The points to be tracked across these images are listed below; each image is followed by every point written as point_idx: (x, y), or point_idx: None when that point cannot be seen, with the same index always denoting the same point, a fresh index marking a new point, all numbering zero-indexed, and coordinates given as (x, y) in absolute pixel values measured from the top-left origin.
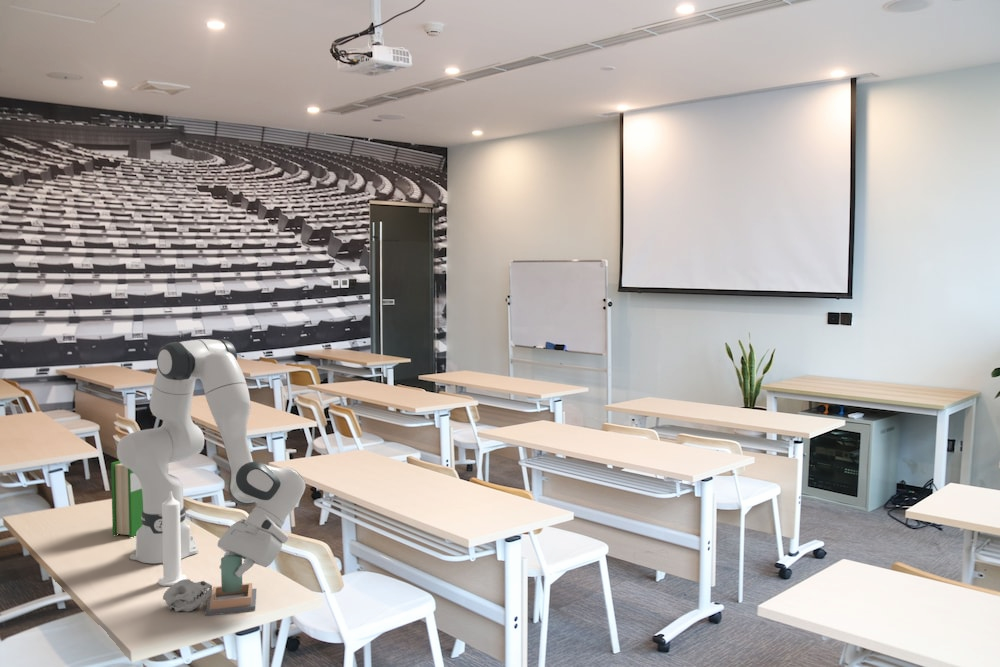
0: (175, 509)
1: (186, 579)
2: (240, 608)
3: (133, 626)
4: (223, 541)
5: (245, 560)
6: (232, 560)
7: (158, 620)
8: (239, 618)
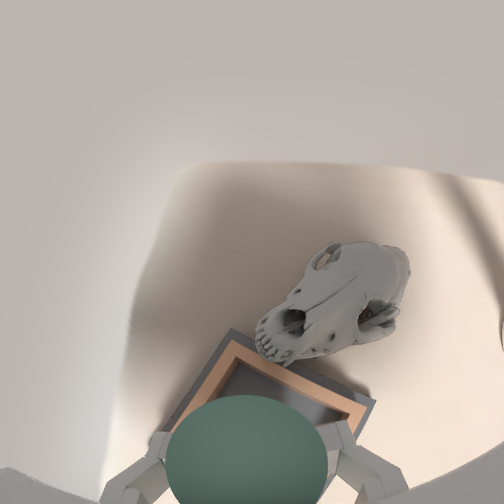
0: None
1: (383, 283)
2: (170, 421)
3: (306, 185)
4: (501, 478)
5: (126, 496)
6: (185, 446)
7: (301, 229)
8: (134, 389)
